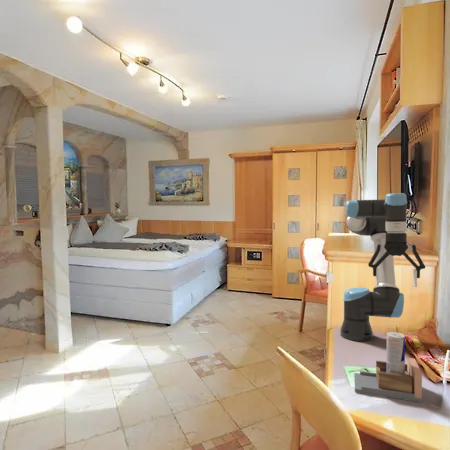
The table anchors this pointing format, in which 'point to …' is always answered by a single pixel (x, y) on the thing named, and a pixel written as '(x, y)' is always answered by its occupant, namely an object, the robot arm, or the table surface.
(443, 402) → the table surface
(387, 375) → the open wooden box
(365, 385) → the board
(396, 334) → the beverage can
